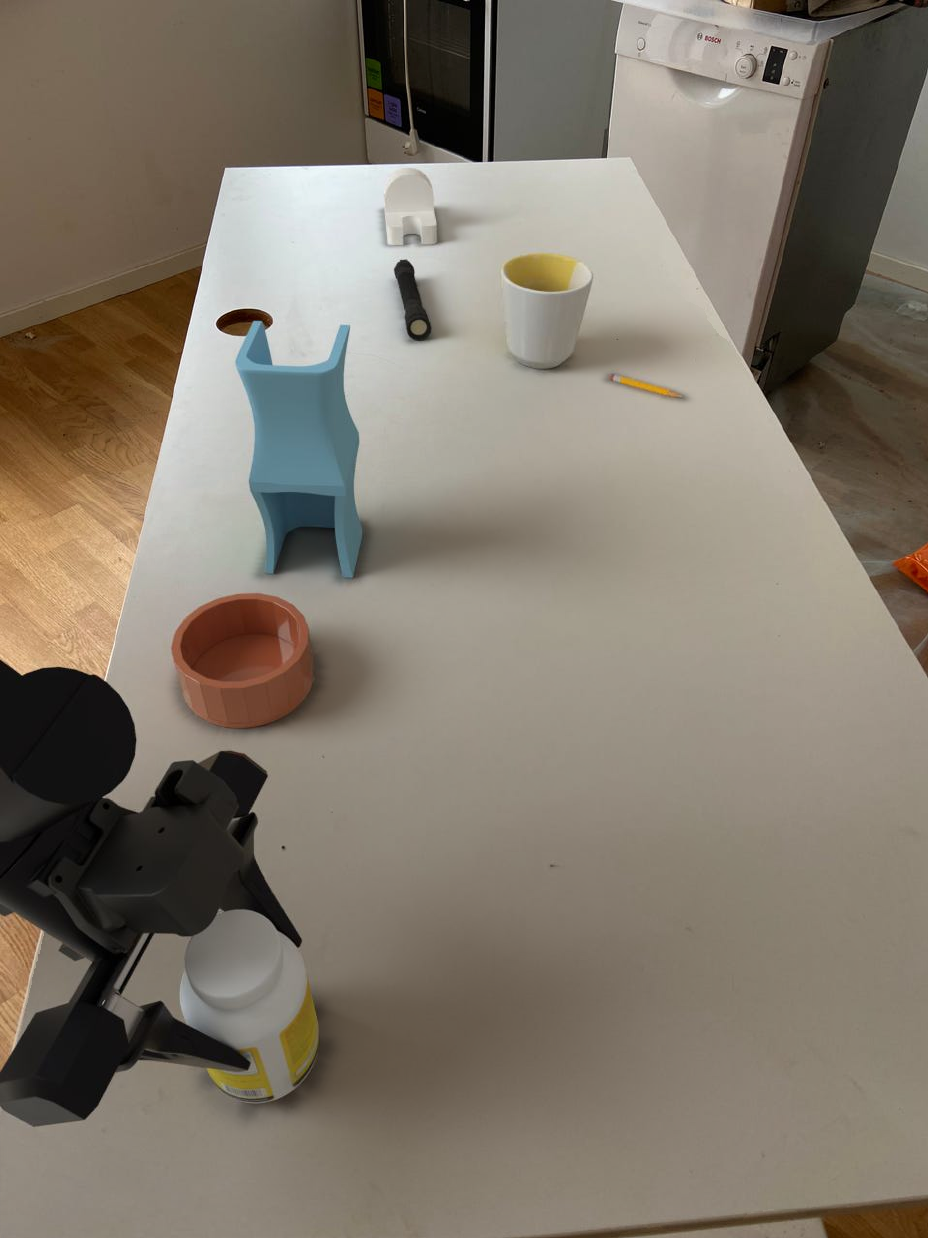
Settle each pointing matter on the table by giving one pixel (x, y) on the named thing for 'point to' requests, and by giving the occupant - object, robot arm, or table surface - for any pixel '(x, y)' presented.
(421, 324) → the flashlight
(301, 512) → the stacked u-channel piece
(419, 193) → the slotted bracket
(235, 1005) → the pill bottle
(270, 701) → the bowl
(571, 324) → the mug
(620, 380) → the pencil
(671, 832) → the table surface
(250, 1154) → the table surface
